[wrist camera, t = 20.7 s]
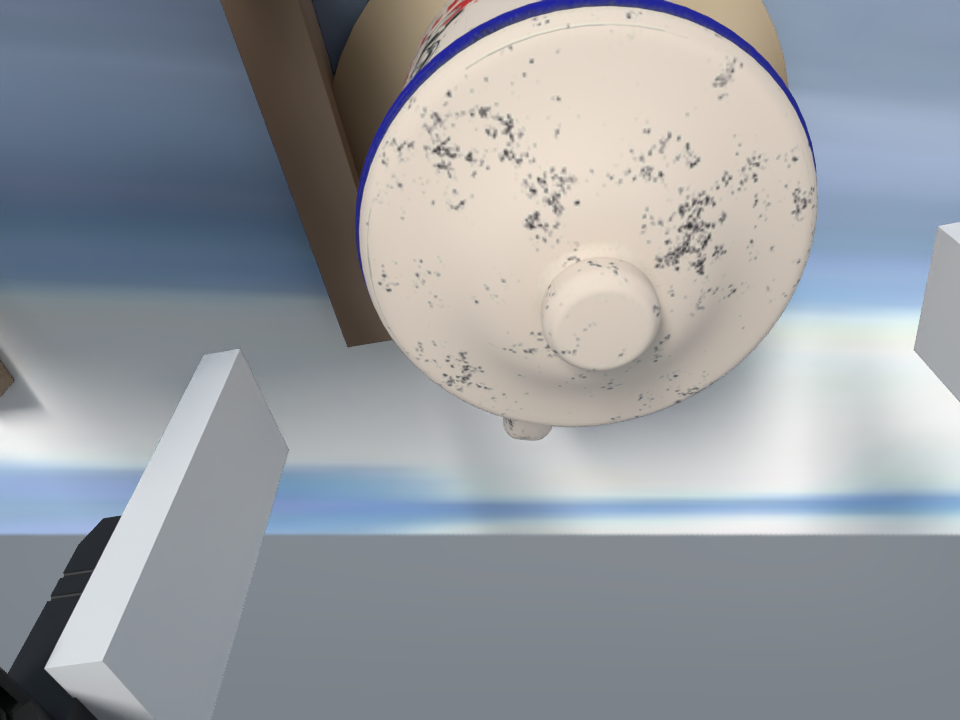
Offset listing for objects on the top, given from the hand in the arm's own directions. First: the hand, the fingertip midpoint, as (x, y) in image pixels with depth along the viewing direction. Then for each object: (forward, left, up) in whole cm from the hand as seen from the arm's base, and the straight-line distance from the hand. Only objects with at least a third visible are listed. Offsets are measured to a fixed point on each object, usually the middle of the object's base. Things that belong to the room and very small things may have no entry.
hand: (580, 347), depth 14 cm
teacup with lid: (0, 0, -10) cm, 10 cm away
